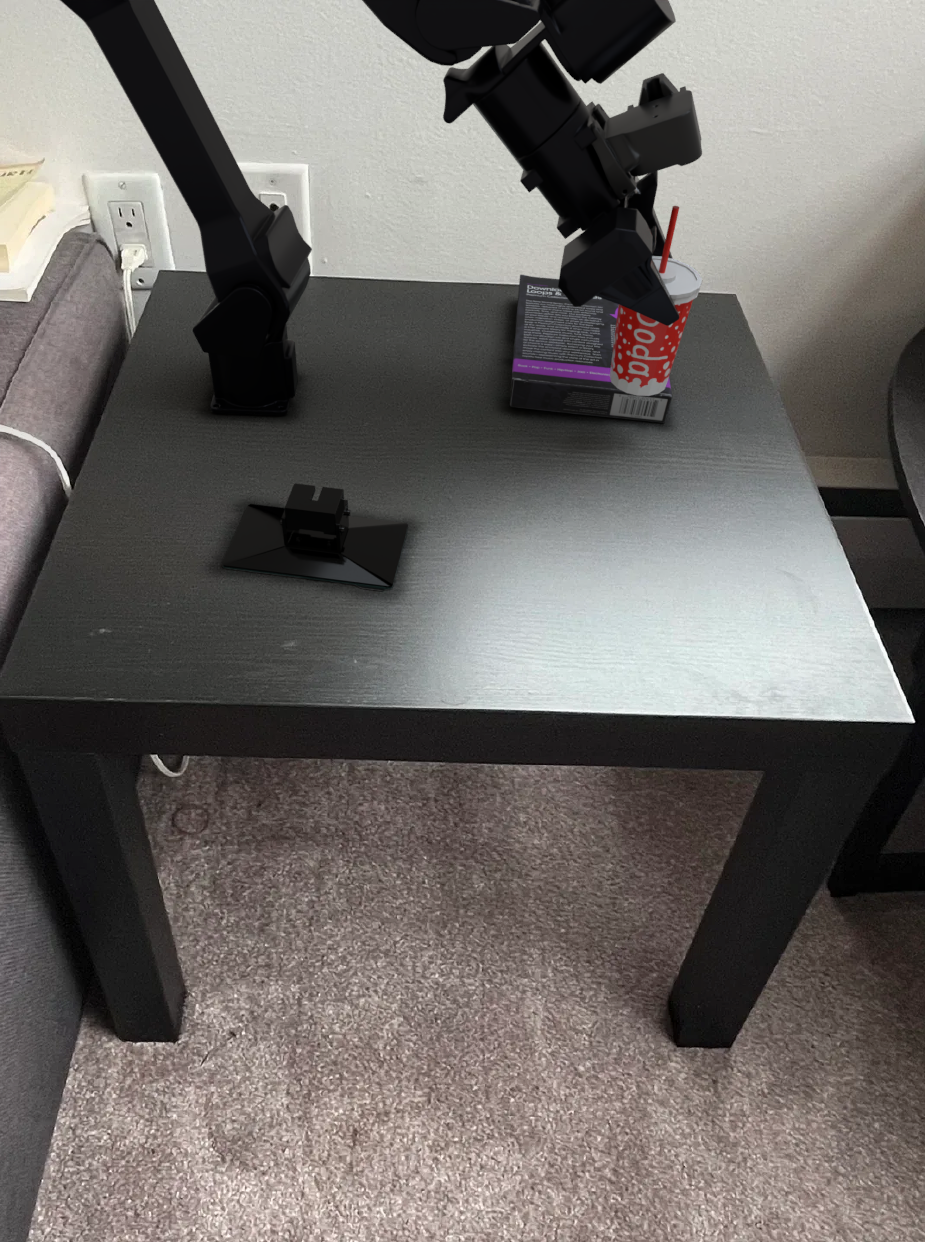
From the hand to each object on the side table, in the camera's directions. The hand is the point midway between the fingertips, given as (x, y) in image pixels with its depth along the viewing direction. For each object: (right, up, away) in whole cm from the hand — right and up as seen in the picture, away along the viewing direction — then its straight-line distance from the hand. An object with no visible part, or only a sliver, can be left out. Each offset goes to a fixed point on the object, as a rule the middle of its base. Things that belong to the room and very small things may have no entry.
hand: (674, 300), depth 74 cm
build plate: (-27, -19, -1) cm, 33 cm away
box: (-4, 0, +19) cm, 19 cm away
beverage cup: (-2, -5, +5) cm, 7 cm away
